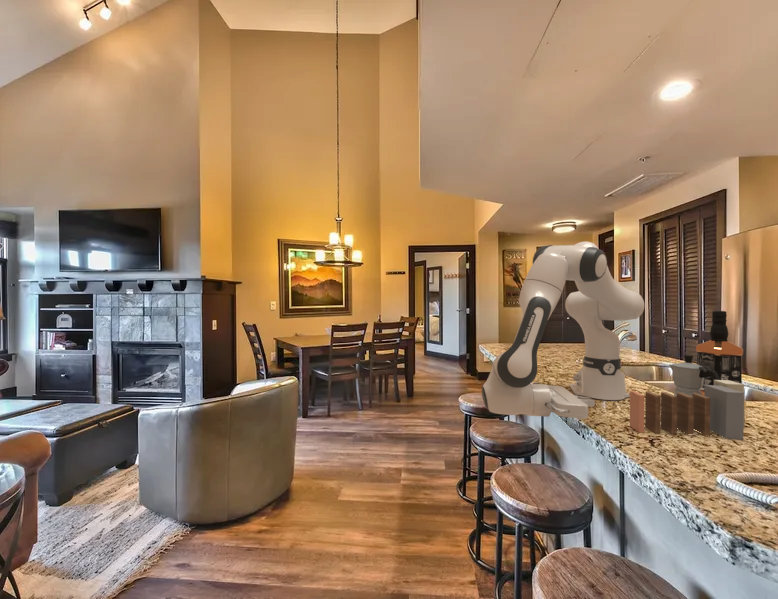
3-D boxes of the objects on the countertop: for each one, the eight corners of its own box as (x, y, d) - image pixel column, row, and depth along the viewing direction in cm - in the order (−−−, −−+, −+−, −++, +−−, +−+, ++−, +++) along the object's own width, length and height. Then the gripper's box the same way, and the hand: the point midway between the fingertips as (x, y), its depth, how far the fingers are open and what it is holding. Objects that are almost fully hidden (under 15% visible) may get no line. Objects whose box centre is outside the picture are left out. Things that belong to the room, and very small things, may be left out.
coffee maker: (658, 406, 126) (658, 352, 126) (677, 404, 128) (677, 351, 128) (707, 420, 111) (708, 359, 111) (728, 418, 114) (728, 358, 114)
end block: (704, 428, 105) (704, 385, 105) (720, 428, 104) (720, 385, 104) (726, 438, 97) (726, 392, 97) (743, 439, 96) (743, 392, 96)
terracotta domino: (639, 432, 101) (639, 395, 101) (629, 426, 106) (629, 390, 106) (643, 432, 101) (644, 395, 101) (634, 426, 106) (634, 391, 106)
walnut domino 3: (688, 435, 99) (688, 397, 99) (676, 428, 104) (676, 392, 104) (693, 435, 99) (693, 397, 99) (681, 428, 104) (681, 392, 104)
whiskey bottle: (746, 409, 124) (747, 311, 123) (716, 408, 124) (717, 311, 124) (719, 400, 134) (720, 310, 134) (691, 400, 134) (692, 310, 134)
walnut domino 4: (704, 435, 99) (705, 397, 99) (692, 429, 104) (692, 393, 104) (709, 436, 99) (710, 398, 99) (696, 429, 104) (697, 393, 104)
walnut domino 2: (671, 434, 100) (672, 396, 100) (660, 427, 105) (661, 391, 105) (676, 434, 100) (677, 396, 100) (665, 428, 105) (665, 392, 105)
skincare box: (745, 428, 105) (746, 384, 105) (727, 427, 106) (727, 383, 106) (730, 421, 111) (730, 379, 111) (712, 419, 112) (713, 379, 112)
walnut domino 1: (655, 433, 100) (655, 396, 100) (645, 427, 105) (645, 391, 105) (660, 433, 100) (660, 396, 100) (649, 427, 105) (650, 391, 105)
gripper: (551, 399, 96) (609, 401, 95) (532, 381, 117) (579, 382, 115) (551, 423, 97) (609, 426, 95) (532, 401, 117) (579, 403, 115)
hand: (592, 402), depth 105 cm, fingers closed
